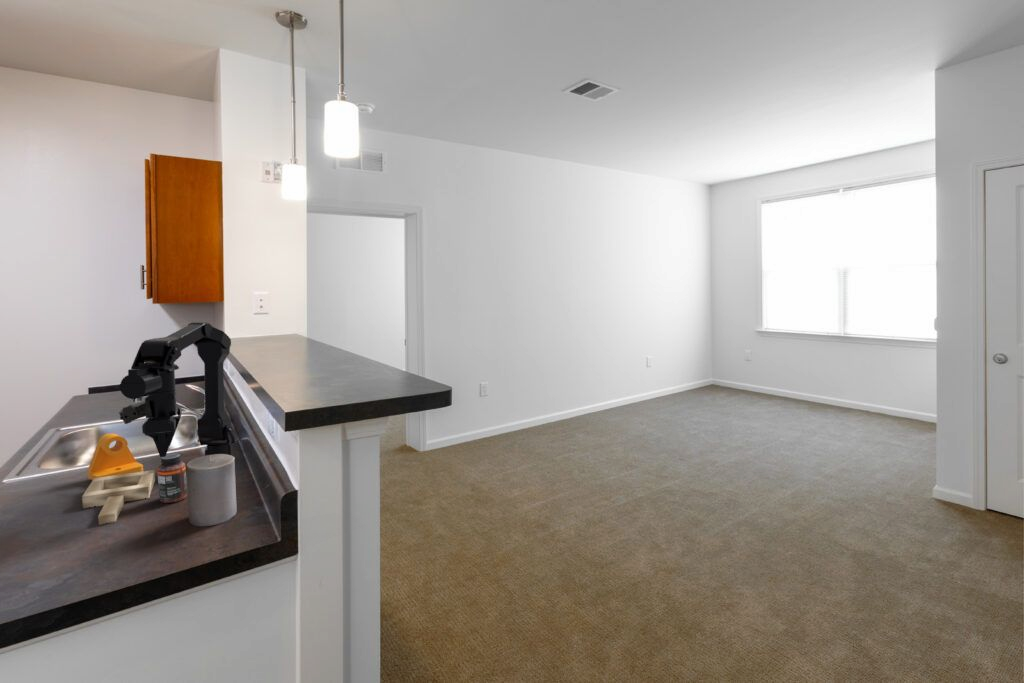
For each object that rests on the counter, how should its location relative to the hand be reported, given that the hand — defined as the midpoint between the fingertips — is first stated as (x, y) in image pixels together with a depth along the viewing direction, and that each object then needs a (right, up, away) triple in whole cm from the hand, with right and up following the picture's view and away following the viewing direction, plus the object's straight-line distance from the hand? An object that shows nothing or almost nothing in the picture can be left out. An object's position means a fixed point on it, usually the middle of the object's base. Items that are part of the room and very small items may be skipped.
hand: (165, 451), depth 126 cm
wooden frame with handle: (-11, -12, -2) cm, 17 cm away
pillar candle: (+17, -14, -8) cm, 24 cm away
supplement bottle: (+2, -13, +1) cm, 13 cm away
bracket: (-23, -11, +14) cm, 29 cm away
